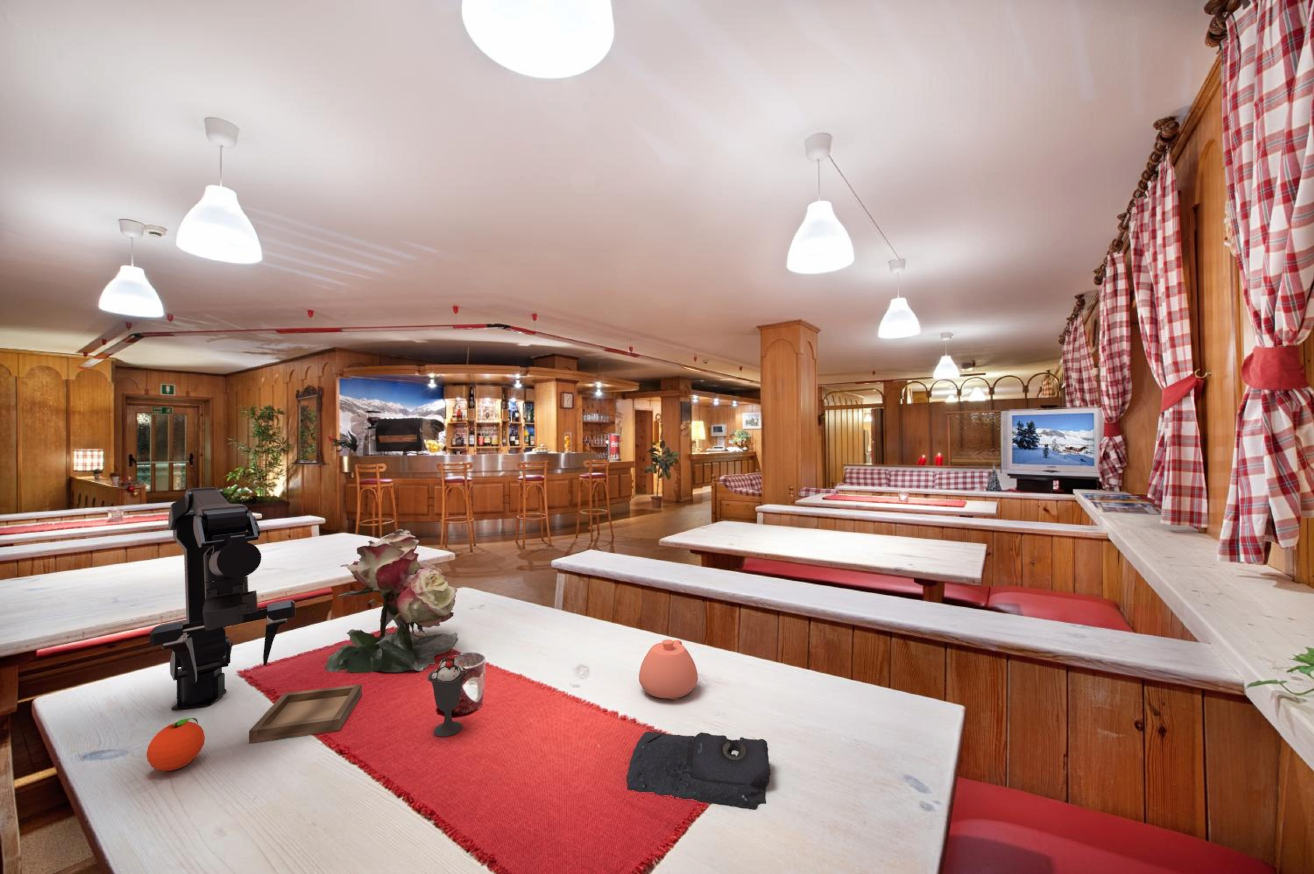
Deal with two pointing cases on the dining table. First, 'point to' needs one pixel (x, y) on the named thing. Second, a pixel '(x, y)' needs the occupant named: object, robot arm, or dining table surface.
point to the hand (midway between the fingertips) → (231, 673)
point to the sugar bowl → (668, 670)
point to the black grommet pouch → (701, 768)
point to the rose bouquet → (397, 609)
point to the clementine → (176, 745)
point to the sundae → (447, 693)
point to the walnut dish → (306, 713)
